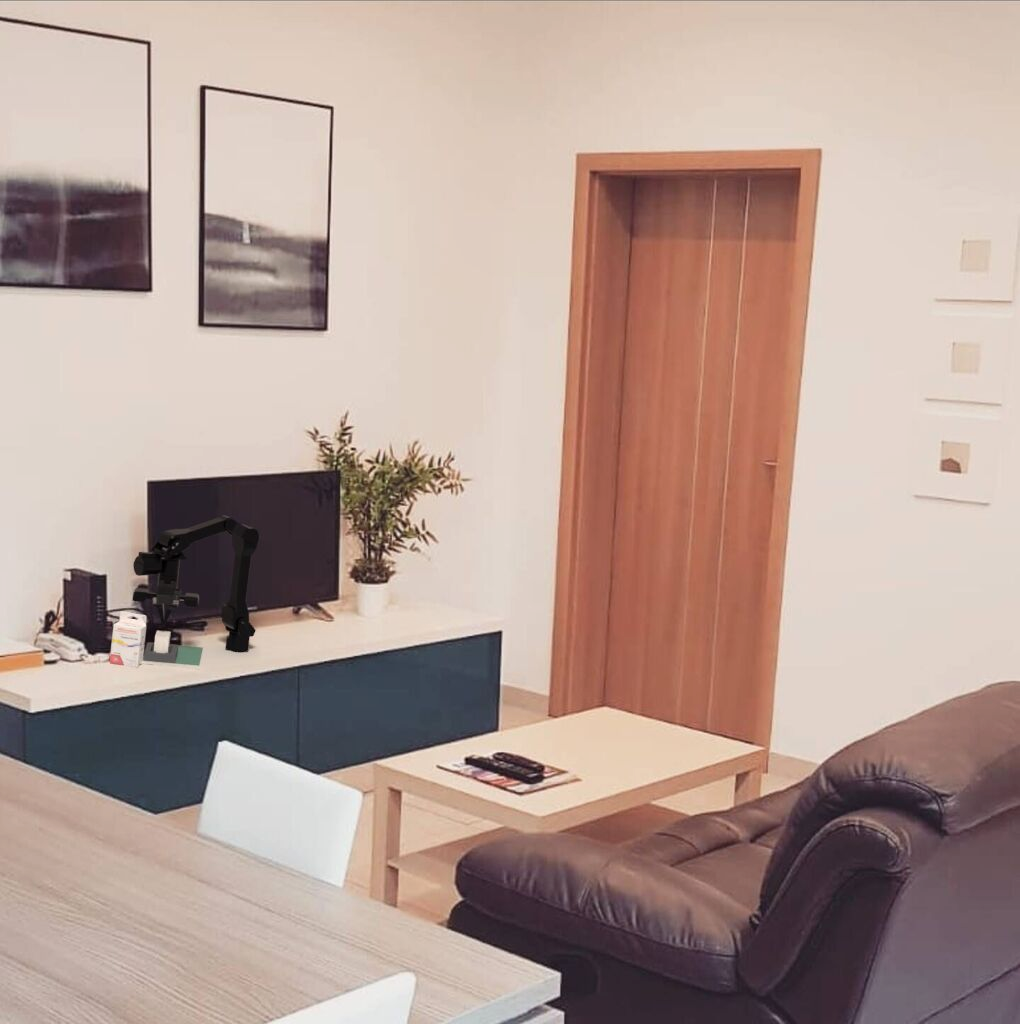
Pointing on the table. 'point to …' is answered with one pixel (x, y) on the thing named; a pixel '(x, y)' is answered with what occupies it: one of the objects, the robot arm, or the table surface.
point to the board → (174, 654)
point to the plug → (162, 641)
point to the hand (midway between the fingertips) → (163, 625)
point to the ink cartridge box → (128, 640)
